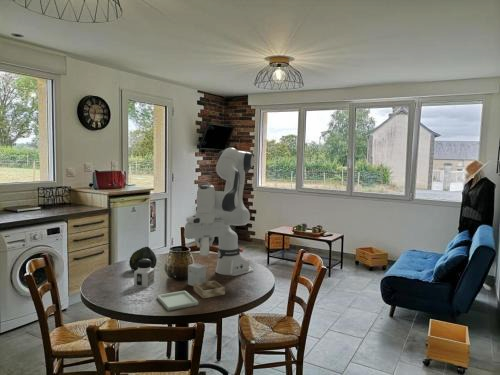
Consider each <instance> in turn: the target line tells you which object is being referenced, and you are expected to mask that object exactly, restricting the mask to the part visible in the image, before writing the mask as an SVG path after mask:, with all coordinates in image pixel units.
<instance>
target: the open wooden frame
mask: <svg viewBox="0 0 500 375" xmlns="http://www.w3.org/2000/svg"><path fill="white" fill-rule="evenodd" d="M193 292H195V293H196V294H197V295H199V297H201V298H202V299H207V298H212V297H217V296H223V295H226V287H225V286H223V284H221V283H219V282H218V281H216V280H209V281H206V282H202V283H196V284H194V286H193Z"/></svg>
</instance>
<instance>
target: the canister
mask: <svg viewBox="0 0 500 375" xmlns="http://www.w3.org/2000/svg"><path fill="white" fill-rule="evenodd" d="M203 237H204V238H199V243H201V247H199V256H201V257H207V256H209V255H210V246H209V242H210V235H204V236H203Z"/></svg>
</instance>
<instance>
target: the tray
mask: <svg viewBox="0 0 500 375" xmlns="http://www.w3.org/2000/svg"><path fill="white" fill-rule="evenodd" d="M156 297H157V300H158V301H159V302H160V303H161V304H162V306H163V307H165V309H166V310H167V311H168V312H171V311H174V310H175V311H177V310H180V309H181V310H182V309H185V308H191V307H196V306H199V300H197V299H196V298H195V297H194V296H192V294H191V293H189V292H188V291H186V290H180V291H173V292H169V293H168V292H167V293H163V294H158V295H157V296H156Z"/></svg>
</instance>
